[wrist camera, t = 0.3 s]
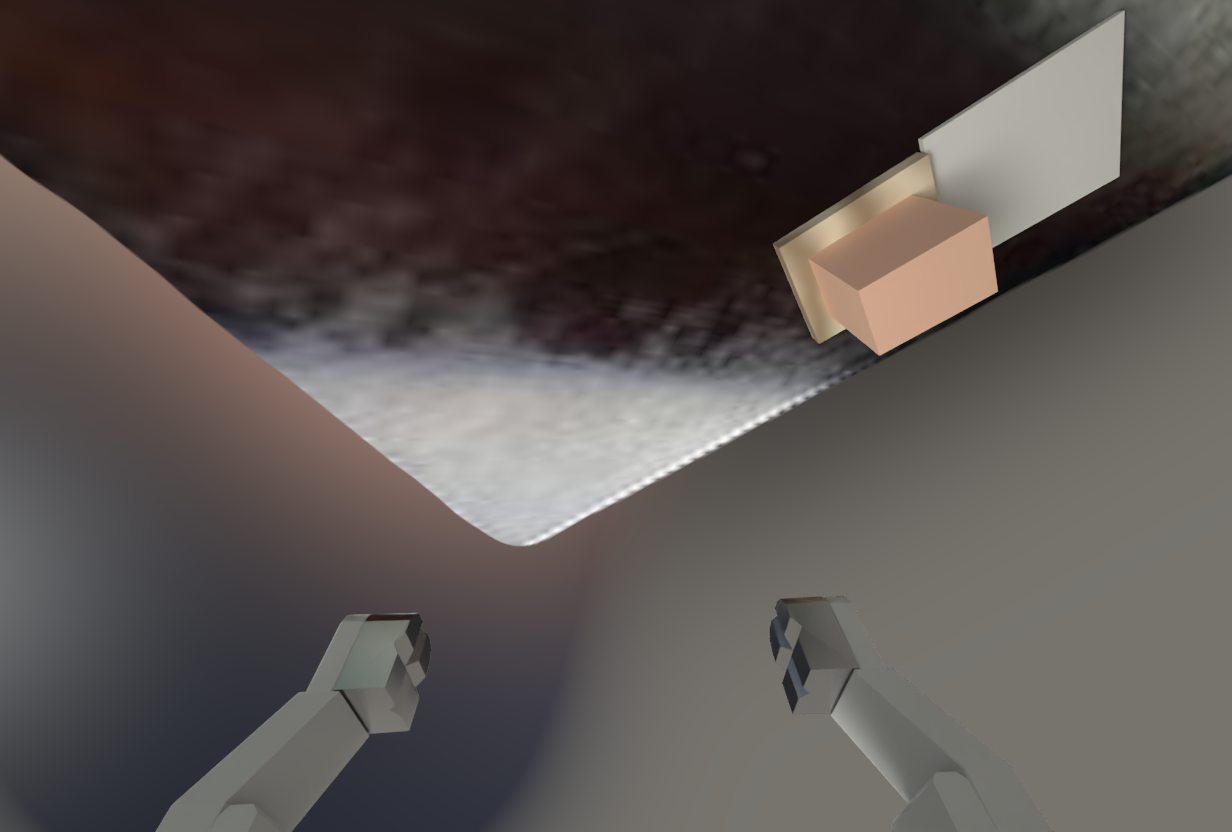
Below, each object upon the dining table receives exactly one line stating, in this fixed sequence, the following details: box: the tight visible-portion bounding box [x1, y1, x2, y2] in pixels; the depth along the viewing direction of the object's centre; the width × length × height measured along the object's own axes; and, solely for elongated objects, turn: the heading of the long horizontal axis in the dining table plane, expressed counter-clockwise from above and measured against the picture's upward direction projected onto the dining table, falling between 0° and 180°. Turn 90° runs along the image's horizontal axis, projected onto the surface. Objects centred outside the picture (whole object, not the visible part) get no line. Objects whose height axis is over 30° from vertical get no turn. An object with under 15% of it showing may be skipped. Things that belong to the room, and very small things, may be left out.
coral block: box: [808, 195, 998, 356], centre depth 41 cm, size 10×7×9 cm
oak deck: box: [773, 152, 938, 344], centre depth 45 cm, size 14×12×2 cm
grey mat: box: [918, 10, 1125, 248], centre depth 42 cm, size 16×14×1 cm
